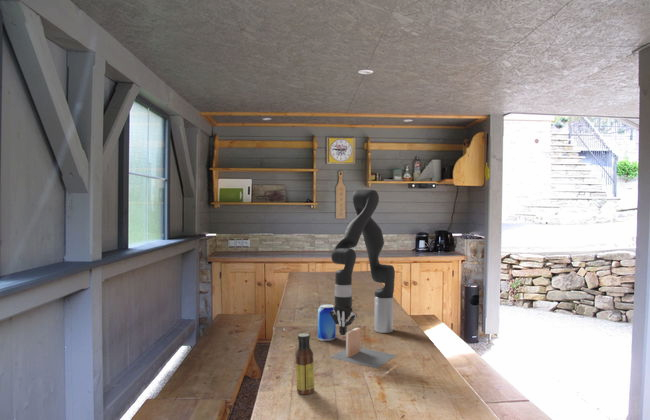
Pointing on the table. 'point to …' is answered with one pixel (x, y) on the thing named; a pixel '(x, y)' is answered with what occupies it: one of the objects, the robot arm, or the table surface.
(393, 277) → the robot arm
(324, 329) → the beer can
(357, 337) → the tile
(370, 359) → the mat
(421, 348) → the table surface
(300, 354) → the sauce bottle
